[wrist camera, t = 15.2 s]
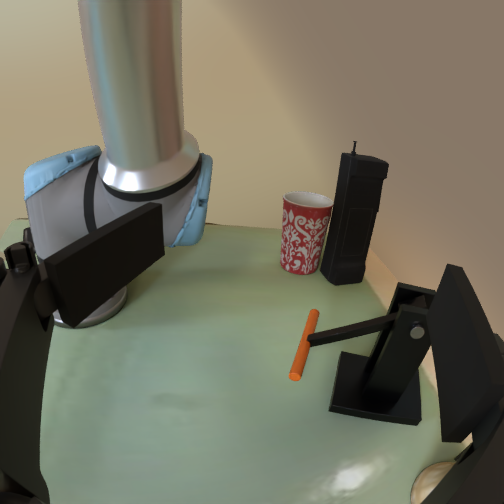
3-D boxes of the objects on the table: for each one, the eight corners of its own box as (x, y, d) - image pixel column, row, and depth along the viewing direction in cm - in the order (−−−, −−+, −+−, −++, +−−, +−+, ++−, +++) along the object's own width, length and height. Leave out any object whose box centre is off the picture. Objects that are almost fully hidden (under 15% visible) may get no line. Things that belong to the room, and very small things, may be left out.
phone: (22, 251, 52) (23, 228, 62) (24, 255, 53) (24, 232, 63) (53, 242, 57) (49, 221, 67) (54, 247, 58) (50, 225, 68)
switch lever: (293, 385, 28) (284, 369, 27) (313, 321, 37) (306, 306, 37) (436, 356, 21) (433, 336, 21) (422, 291, 31) (417, 273, 30)
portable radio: (352, 266, 60) (376, 142, 49) (367, 282, 55) (397, 149, 43) (317, 269, 58) (339, 137, 47) (331, 286, 53) (358, 142, 42)
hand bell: (396, 510, 18) (505, 422, 10) (429, 452, 23) (514, 347, 16) (455, 537, 13) (579, 456, 5) (481, 477, 18) (577, 381, 11)
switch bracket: (328, 411, 30) (367, 315, 23) (338, 357, 37) (368, 266, 31) (416, 425, 27) (477, 337, 20) (414, 372, 34) (457, 286, 28)
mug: (302, 283, 53) (315, 210, 47) (265, 263, 59) (272, 194, 53) (339, 262, 61) (352, 199, 55) (305, 246, 67) (314, 186, 61)
